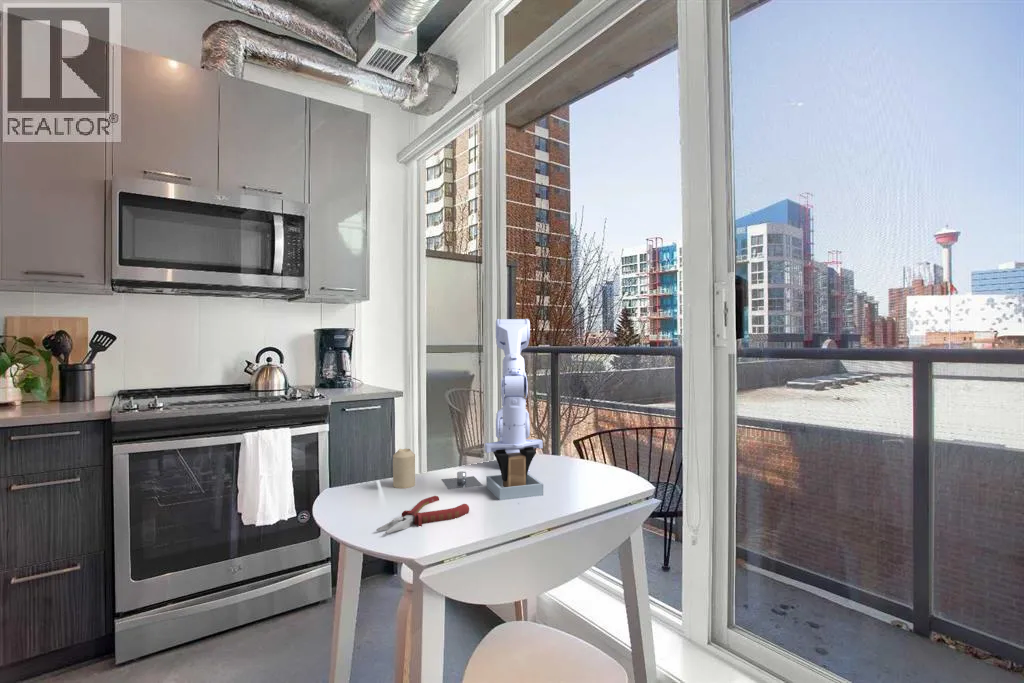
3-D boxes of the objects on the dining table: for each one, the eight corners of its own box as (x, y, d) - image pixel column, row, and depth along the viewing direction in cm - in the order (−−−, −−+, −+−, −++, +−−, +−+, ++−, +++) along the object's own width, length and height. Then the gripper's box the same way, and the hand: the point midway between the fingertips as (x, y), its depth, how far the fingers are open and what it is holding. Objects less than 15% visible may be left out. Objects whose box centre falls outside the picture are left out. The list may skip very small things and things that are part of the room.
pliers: (363, 530, 100) (363, 517, 100) (435, 504, 116) (435, 493, 116) (400, 545, 93) (400, 531, 93) (471, 515, 109) (471, 503, 109)
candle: (402, 492, 123) (402, 452, 123) (388, 488, 127) (388, 449, 127) (419, 487, 128) (419, 448, 128) (405, 483, 131) (405, 446, 131)
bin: (486, 489, 126) (486, 476, 126) (526, 485, 129) (526, 472, 129) (499, 503, 115) (499, 488, 115) (543, 498, 119) (543, 484, 119)
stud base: (441, 482, 132) (441, 469, 132) (473, 479, 135) (473, 467, 135) (448, 492, 124) (448, 478, 124) (482, 488, 127) (482, 475, 127)
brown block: (502, 485, 124) (502, 453, 123) (519, 483, 125) (519, 452, 125) (508, 490, 119) (508, 457, 119) (525, 489, 121) (525, 456, 121)
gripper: (490, 428, 116) (490, 486, 116) (547, 425, 121) (547, 480, 121) (482, 423, 123) (482, 478, 123) (536, 420, 127) (536, 473, 127)
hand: (514, 479), depth 122 cm, fingers closed on brown block, 4 cm apart
